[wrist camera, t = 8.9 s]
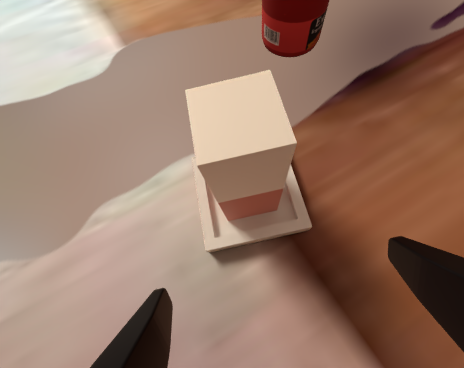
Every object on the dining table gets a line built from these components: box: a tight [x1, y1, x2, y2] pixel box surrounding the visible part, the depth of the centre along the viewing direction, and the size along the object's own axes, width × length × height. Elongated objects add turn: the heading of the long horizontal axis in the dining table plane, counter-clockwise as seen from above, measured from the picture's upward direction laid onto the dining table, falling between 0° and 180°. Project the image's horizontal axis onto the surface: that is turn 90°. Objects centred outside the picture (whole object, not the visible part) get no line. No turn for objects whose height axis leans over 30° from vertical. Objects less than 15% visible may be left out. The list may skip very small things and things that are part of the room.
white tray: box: [192, 157, 312, 253], centre depth 23 cm, size 10×10×2 cm
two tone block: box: [185, 70, 297, 221], centre depth 18 cm, size 5×5×12 cm
